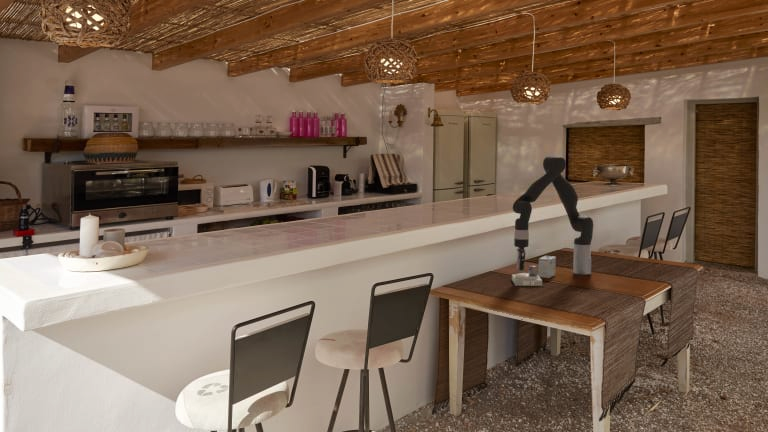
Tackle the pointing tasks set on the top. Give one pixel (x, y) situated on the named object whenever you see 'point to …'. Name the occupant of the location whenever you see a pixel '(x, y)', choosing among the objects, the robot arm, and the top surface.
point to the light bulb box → (547, 266)
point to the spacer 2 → (532, 270)
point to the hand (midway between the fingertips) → (520, 268)
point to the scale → (526, 280)
